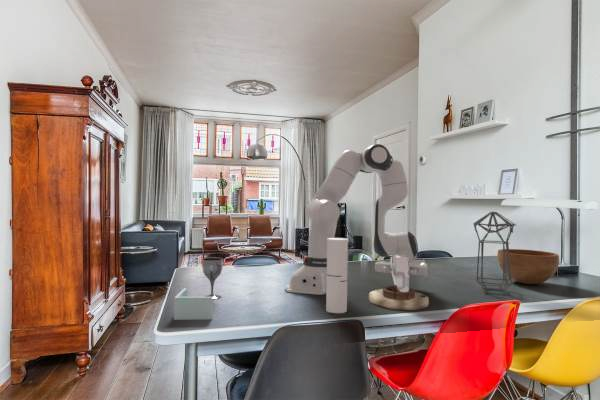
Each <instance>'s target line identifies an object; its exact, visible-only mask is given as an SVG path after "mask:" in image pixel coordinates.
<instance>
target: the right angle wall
mask: <svg viewBox="0 0 600 400" xmlns="http://www.w3.org/2000/svg"><path fill="white" fill-rule="evenodd" d="M213 319H214V300H213V297H204V296H188V288H187V287H186V288H185V287H184V288H182V289H181V291H180V292H178V293H177V294H176V295H175V296H174V300H173V321H174V320H176V321H177V320H178V321H179V320H181V321H183V320H184V321H185V320H194V321H195V320H213Z"/></svg>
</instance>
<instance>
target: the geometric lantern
mask: <svg viewBox="0 0 600 400" xmlns="http://www.w3.org/2000/svg"><path fill="white" fill-rule="evenodd" d="M496 216H497V217H498V218H499V219H501V220H502V221H503V222H504V223H498V221H497V218H496ZM488 217H489V221H488V223H487V224H486V223H482V222H483V221H485V220H486V219H487V218H488ZM492 221H493V222H494V223H492ZM472 224H473V228H474V231H475V233H476V235H477V239H478V249H477V262H476V263H477V264H476V279H475V280H476V283H478V284H479V285H480V286H481V290H482V291H483V293H484V294H492V295H502V296H506V295H507V289H508V288H509V287H511V286H512V285H513V283H512V279H511V270H510V257H509V249H510V248H509V246H510V245H509V244H510V242H509V240H510V238H511V234H513V233H514V226H517V224H516V223H514V222H513V221H511V220H510V219H508V218H506V217H505V216H503V215H502V214H501V213H499V212H497V211H489V212H488V213H487V214H485V215H484V216H482V217H481V218H479V219H478V220H476V221H475V222H473V223H472ZM477 226H479V227H481V229H483V230H484V231H486V232H487V233H486V234H485V235H484V236H483V237H482V239H480V236H479V233H478V230H477ZM485 226H487V227H485ZM492 227H495V229H496V230H494V229H492ZM499 227H500V228H499ZM507 228H509V232H508V233H507V237H506V241H504V238H503V236H501V234H500V232H501V231H503V230H505V229H507ZM491 233H496V234H497V235H498V237H499V238H500V240H489V241H486V239H487V237H488V235H489V234H491ZM484 244H499V245H500V244H501V245H502V249H503V272H502V278H491V277H484ZM505 249H506V253H507V265H508V276H507V274H506V259H505ZM480 250H481V252H480ZM480 253H481V254H480ZM480 257H481V262H480ZM479 263H481V265H480V264H479ZM479 266H480V268H481V269H480V277H479ZM504 266H505V270H504ZM507 277H508V278H507ZM484 280H491V281H492V280H496V281H502V282H501V283H498V282H487V281H484ZM504 282H505V283H504ZM488 286H491V287H488ZM494 287H495V288H494ZM496 287H499V288H496ZM488 290H492V291H501V292H503V293H497V292H488Z"/></svg>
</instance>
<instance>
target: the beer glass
mask: <svg viewBox="0 0 600 400" xmlns="http://www.w3.org/2000/svg"><path fill="white" fill-rule="evenodd" d="M390 262H391V272H392V273H391V276H392V280H393V284H394V285H393V286H395V291H394V292H403V293H406V292H410V290H409V288H410V277H411V276H410V275H409V270H410V266H409V259H408V256H406V255H390Z"/></svg>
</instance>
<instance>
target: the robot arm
mask: <svg viewBox="0 0 600 400" xmlns="http://www.w3.org/2000/svg"><path fill="white" fill-rule="evenodd" d="M359 172H362V173H365V174H371V173H374V172H375V173H377V175H378V176H379V179H380V185H381V193H380V196H379V198H377V199H376V202H375V208H374V209H375V210H374V211H375V212H374V236H373V237H374V238H373V242H372V243H373V249H374V252H375V254H377V255H378V256H380V257H381V258H384V257H391V256H396V255H406V256H408V259H409V266H410V270H409V275H410V276H409V277H427V276H428V264H427V263H426V260H425V259H421V258H417V256H418V253H419V245H418V241H417V237H416V236H415V235H414V234H413V233H412V232H410V231H400V232H392V233H385V223H386V221H385V219H386V215H387V212H388V211H390V210H391V209H392V208H395V207H397V206H398V205H400V204H402V203H403V202H404V201H405V199H407V198H408V197H407V196H408V194H409V191H408V189H409V188H408V183H407V182H408V181H407V178H406V177H407V176H406V173H405V169H404V167H403V164H402V162H401V161H400V160H396V159H394V158H393V156H392V155H391V153H390V151H389V149H388V148H387V147H386V146H385V145H383V144H380V143H374V144H370V145H369V146H368V147H366V148H365V149H363V150H362V151H359V152H357V151H356V150H352V149H347V150H344V151H342V153H340V155H339V156H338V158H337V159H336V160H335V162H334V164H333V165H332V167H331V169H330V170H329V172H328V173H327V176H325V177H326V178H325V179H324V181H323V183H322V184H321V185H320V187H319V188H318V189H317V191H316V193H315V194H314V195H313V197H312V198H311V200H310V202H309V203H308V204H307V206H306V207H305V215H306V217H307V219H308V221H310V222H311V226H310V231H309V236H308V244H307V245H308V250H307V251H308V253H307V254H308V255H304V256H303V257H302V260H303V265H301V266H300V267H299V268H297V270H295V271H294V272H292V274H291V277H290V280H289V283H286V284H285V287H284V291H285V292H287V293H294V294H295V293H296V294H307V295H319V296H321V295H326V290H327V238H336V237H335V235H336V232H337V231H336V230H337V224H338V221H339V218H340V214H341V211H340V207H339V206H338V204H339V203H340V201H341V200H343V198H344V197H345V196H346V195H347V193H348V191H349V190H350V187H351V186H352V184H353V182H354V180H355V179H356V177H357V175H358V174H359ZM374 270H375V272H378V273H386V274H387V273H388V274H392V272H391V260H390V261H389V260H380V261H376V262H375V263H374Z"/></svg>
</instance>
